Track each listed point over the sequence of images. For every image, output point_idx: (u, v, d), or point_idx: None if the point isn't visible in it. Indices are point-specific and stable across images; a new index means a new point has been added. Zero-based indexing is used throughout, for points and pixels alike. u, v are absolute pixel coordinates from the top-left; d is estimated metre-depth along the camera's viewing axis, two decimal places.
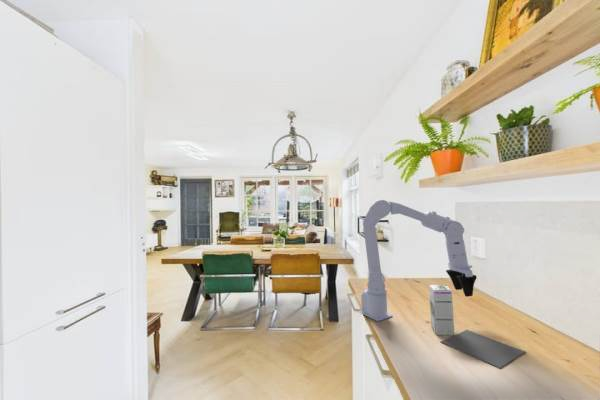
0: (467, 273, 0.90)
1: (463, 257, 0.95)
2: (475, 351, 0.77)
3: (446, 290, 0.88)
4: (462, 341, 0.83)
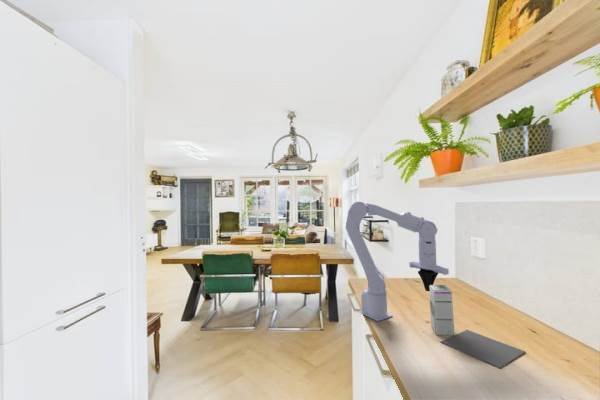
0: (445, 271, 0.94)
1: (435, 256, 0.99)
2: (475, 351, 0.77)
3: (446, 290, 0.88)
4: (462, 341, 0.83)
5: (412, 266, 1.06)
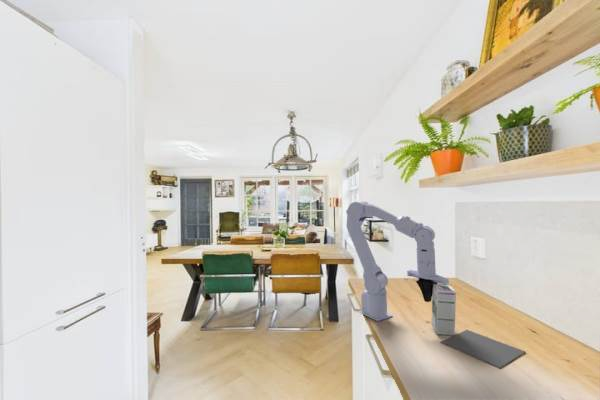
0: (445, 281, 0.88)
1: (434, 265, 0.93)
2: (475, 351, 0.77)
3: (450, 291, 0.87)
4: (462, 341, 0.83)
5: (410, 275, 1.00)
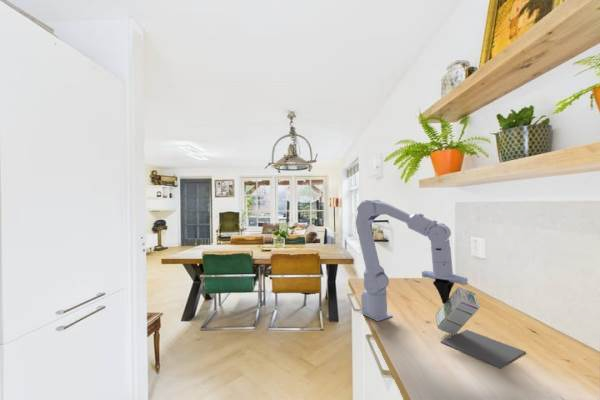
0: (464, 281, 0.83)
1: (451, 264, 0.88)
2: (475, 351, 0.77)
3: (474, 305, 0.80)
4: (462, 341, 0.83)
5: (425, 276, 0.95)
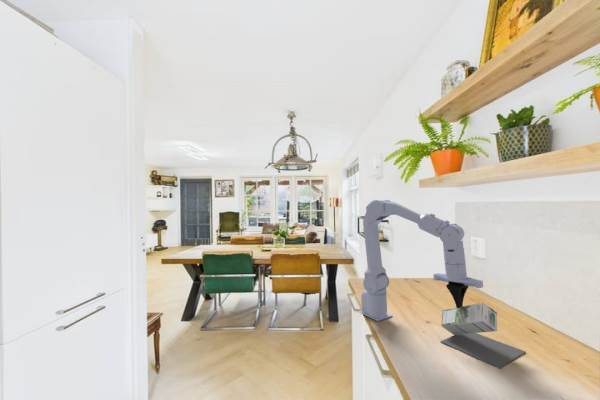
0: (480, 284, 0.79)
1: (465, 266, 0.84)
2: (475, 351, 0.77)
3: (493, 327, 0.76)
4: (462, 341, 0.83)
5: (437, 279, 0.91)
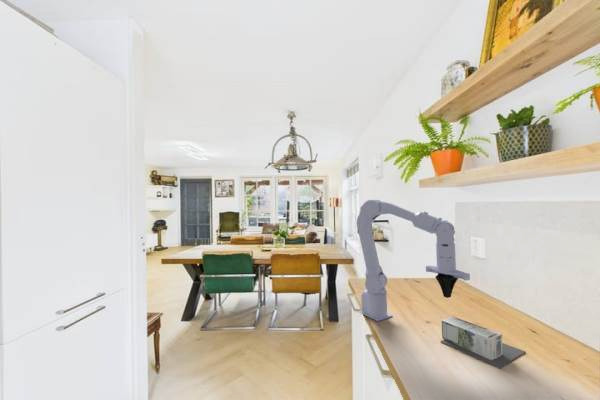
0: (467, 276, 0.87)
1: (455, 260, 0.91)
2: None
3: None
4: None
5: (429, 270, 0.98)
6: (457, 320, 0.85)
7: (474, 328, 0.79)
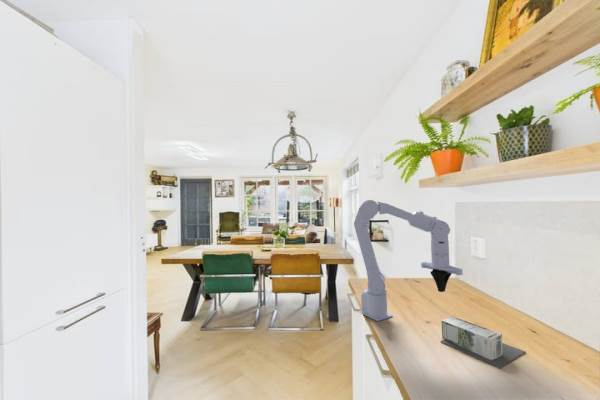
0: (459, 271, 0.92)
1: (448, 256, 0.97)
2: None
3: None
4: None
5: (424, 266, 1.04)
6: (457, 320, 0.85)
7: (474, 328, 0.79)
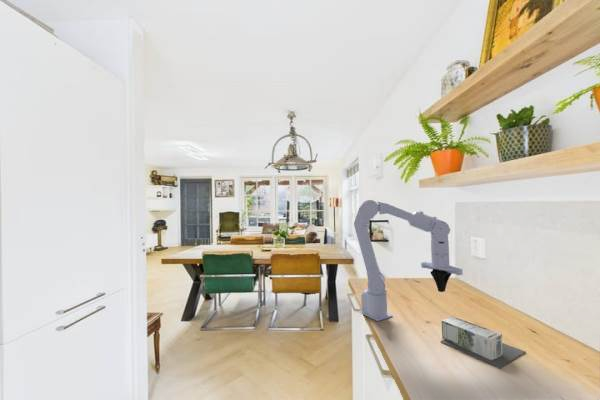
0: (459, 271, 0.92)
1: (448, 256, 0.97)
2: None
3: None
4: None
5: (424, 266, 1.04)
6: (457, 320, 0.85)
7: (474, 328, 0.79)
